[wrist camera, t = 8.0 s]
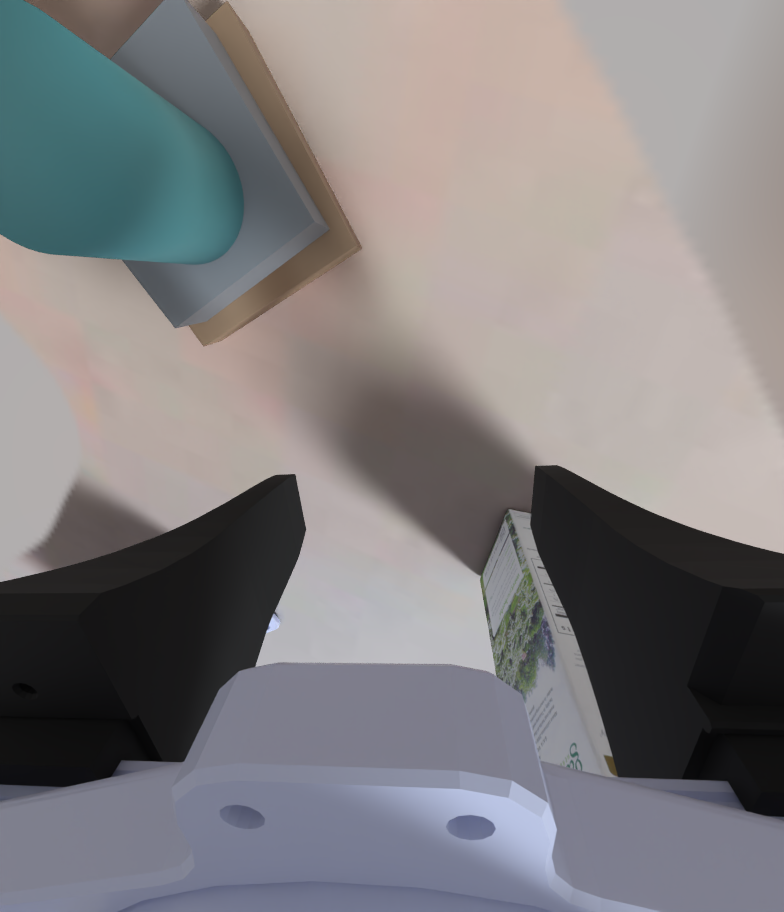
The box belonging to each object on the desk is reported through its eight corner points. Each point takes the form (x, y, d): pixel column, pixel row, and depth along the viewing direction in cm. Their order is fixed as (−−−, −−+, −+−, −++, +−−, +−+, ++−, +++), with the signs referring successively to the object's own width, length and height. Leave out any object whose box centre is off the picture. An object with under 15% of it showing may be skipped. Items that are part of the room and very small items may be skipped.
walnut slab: (227, 338, 21) (203, 346, 18) (109, 169, 18) (64, 154, 16) (364, 249, 19) (356, 245, 16) (254, 40, 16) (226, 0, 13)
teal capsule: (180, 288, 15) (43, 293, 9) (92, 170, 14) (-128, 95, 8) (269, 218, 14) (172, 177, 8) (183, 81, 12) (-1, -76, 7)
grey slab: (206, 321, 18) (175, 328, 16) (88, 163, 16) (32, 144, 13) (330, 228, 16) (314, 221, 14) (216, 34, 14) (175, -13, 12)
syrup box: (562, 595, 26) (711, 931, 13) (474, 577, 26) (533, 898, 12) (599, 525, 23) (832, 849, 10) (503, 504, 23) (612, 807, 10)
